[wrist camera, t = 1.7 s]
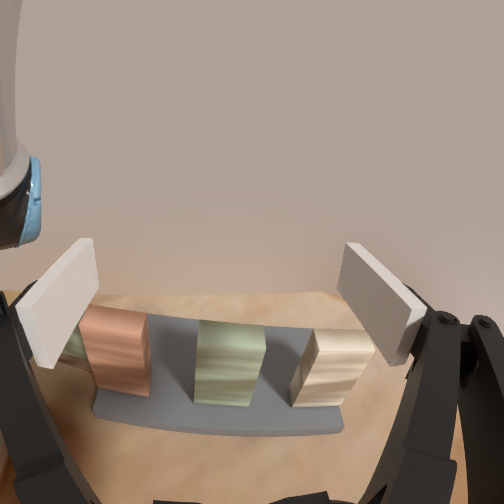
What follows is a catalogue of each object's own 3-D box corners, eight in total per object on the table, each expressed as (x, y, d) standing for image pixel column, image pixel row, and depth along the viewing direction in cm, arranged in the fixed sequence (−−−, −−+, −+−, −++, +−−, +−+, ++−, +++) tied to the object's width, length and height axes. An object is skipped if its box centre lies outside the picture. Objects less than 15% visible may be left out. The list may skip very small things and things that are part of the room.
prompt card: (53, 359, 32) (32, 300, 27) (62, 343, 35) (44, 284, 30) (91, 371, 33) (74, 312, 28) (99, 354, 35) (86, 295, 30)
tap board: (339, 432, 31) (344, 427, 30) (95, 416, 27) (92, 410, 27) (313, 335, 46) (316, 328, 45) (126, 318, 42) (125, 310, 41)
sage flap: (248, 406, 31) (266, 348, 26) (193, 402, 31) (197, 343, 26) (247, 385, 34) (263, 325, 29) (195, 381, 33) (199, 319, 28)
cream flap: (339, 405, 33) (375, 350, 28) (292, 407, 32) (319, 350, 27) (334, 386, 35) (365, 329, 30) (288, 386, 35) (313, 328, 30)
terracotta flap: (148, 397, 30) (140, 335, 25) (97, 387, 29) (78, 324, 24) (152, 376, 32) (147, 313, 28) (104, 368, 32) (89, 304, 27)
